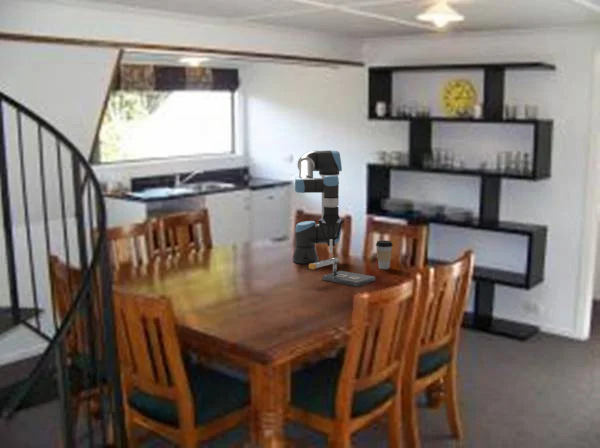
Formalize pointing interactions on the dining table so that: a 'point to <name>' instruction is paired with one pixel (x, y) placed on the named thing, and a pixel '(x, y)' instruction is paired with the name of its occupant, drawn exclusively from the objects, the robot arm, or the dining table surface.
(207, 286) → the dining table surface
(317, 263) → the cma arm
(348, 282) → the chassis
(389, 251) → the coffee cup
